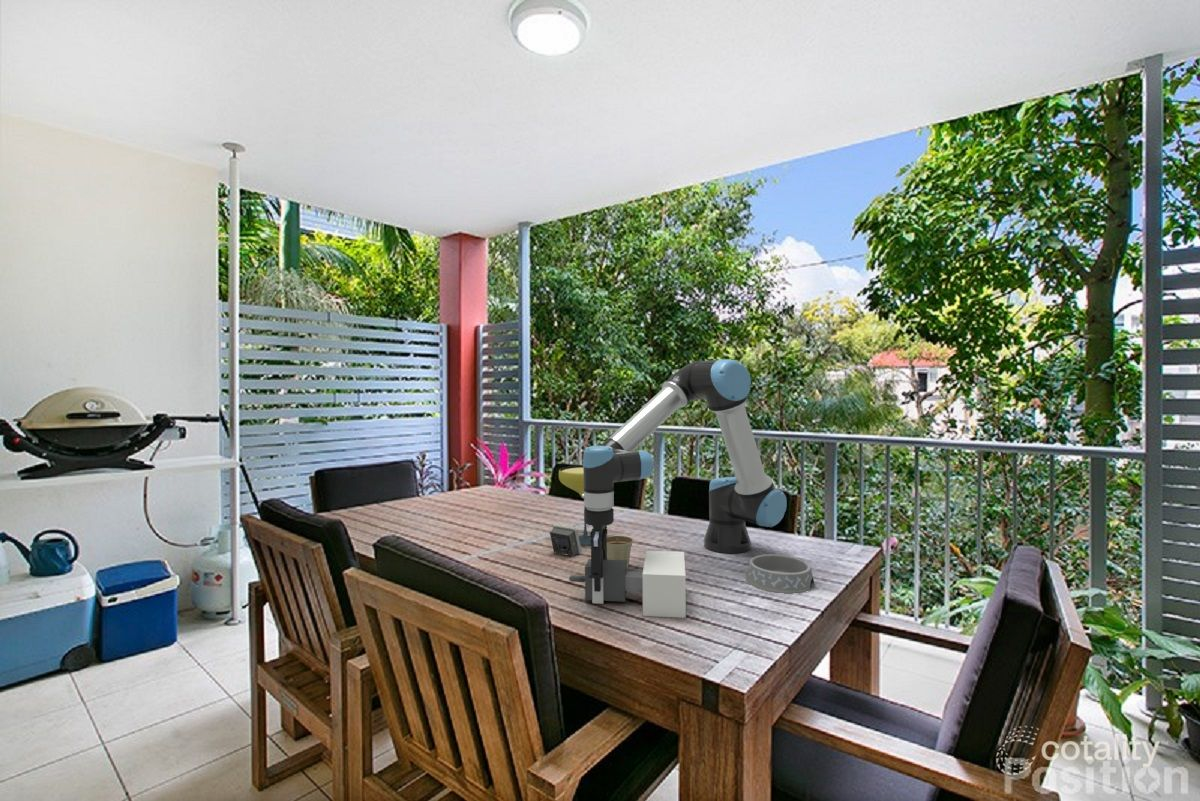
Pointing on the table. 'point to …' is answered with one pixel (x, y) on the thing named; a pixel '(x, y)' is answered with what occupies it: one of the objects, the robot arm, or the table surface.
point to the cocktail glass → (575, 481)
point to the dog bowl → (779, 574)
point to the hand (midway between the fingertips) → (599, 597)
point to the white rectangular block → (664, 584)
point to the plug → (612, 580)
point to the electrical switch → (565, 540)
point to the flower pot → (619, 548)
